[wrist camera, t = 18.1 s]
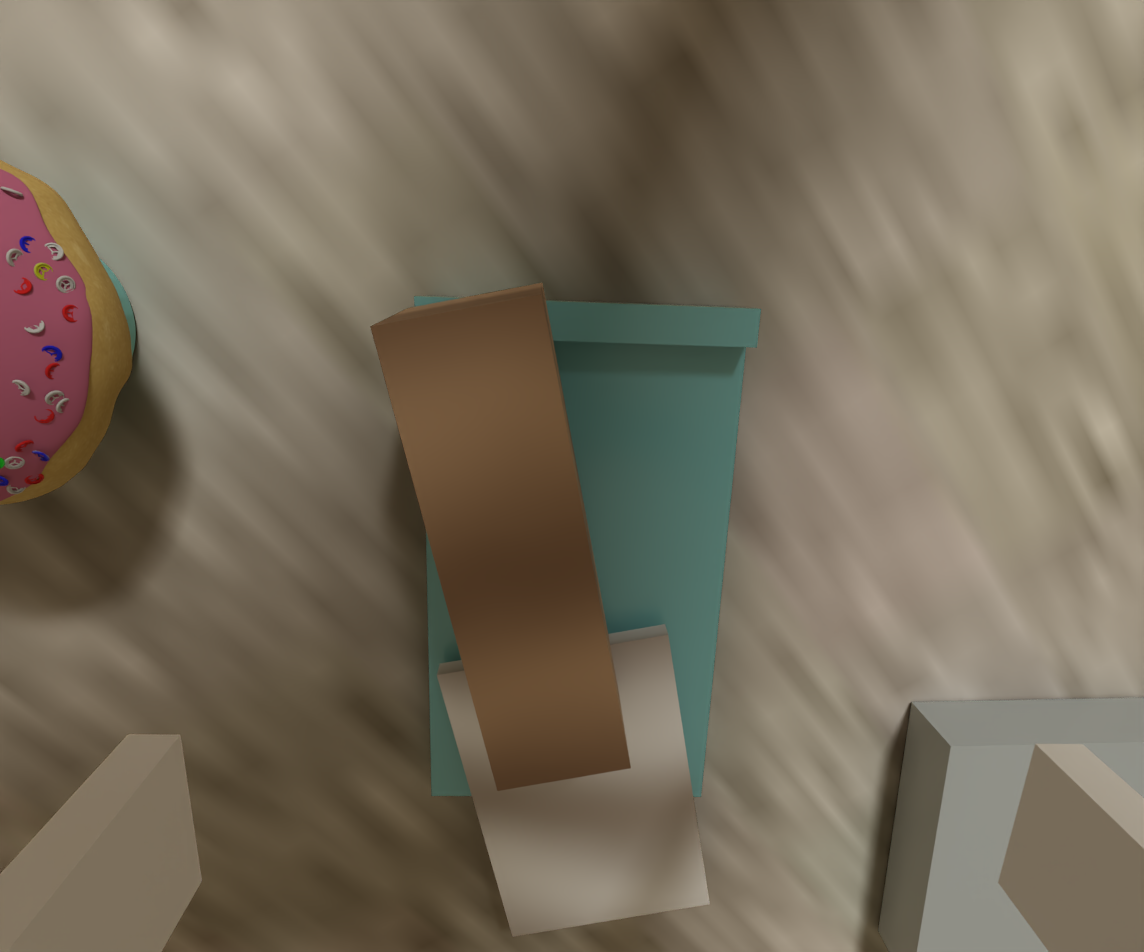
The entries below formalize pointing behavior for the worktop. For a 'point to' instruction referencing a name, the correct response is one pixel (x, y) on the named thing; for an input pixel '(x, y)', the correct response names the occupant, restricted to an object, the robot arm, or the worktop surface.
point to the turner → (538, 628)
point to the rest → (639, 488)
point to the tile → (982, 812)
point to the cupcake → (54, 340)
